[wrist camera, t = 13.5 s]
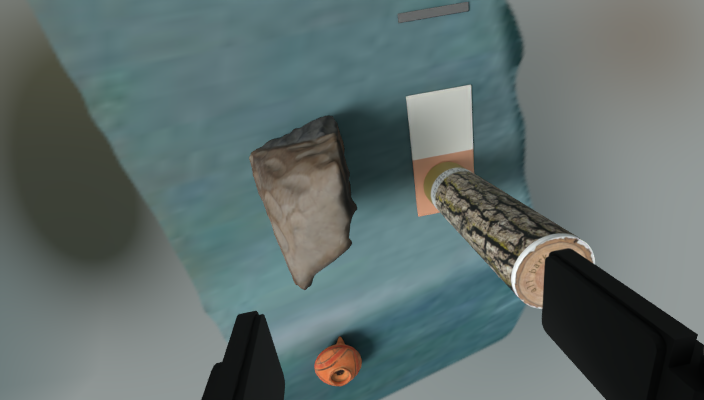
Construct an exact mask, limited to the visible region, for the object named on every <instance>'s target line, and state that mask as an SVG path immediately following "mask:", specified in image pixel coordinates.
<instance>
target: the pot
mask: <svg viewBox="0 0 704 400" xmlns="http://www.w3.org/2000/svg"><path fill="white" fill-rule="evenodd" d="M361 364H362V359H361V356H360V354H359V353H358V352H357V350H356V349H354V348H353V347H351V346H348V345H345V343H344V341H343V339H342V338H341V337H339V338H338V341H337V344H336V345H332V346H330V347H328V348H326V349H325V350H323V351H322V352H321V353H320V354H319V356H318V357H317V359H316V362H315V372H316V374H317V375H318V377H319V378H320V379H321V380H322V381H323V382H325V383H327V384H329V385H334V386H343V385H345V384H347V383H348V382H349V381H351V380H352V379H353V378H354V377H355V376H356V375H357V374H358V372H359V370H360V368H361Z"/></svg>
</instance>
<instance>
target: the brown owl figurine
mask: <svg viewBox="0 0 704 400" xmlns="http://www.w3.org/2000/svg"><path fill="white" fill-rule="evenodd" d="M344 149H345V148H344V145H343V140H342V137H341V135H340V131H339V128H338V124H337V122H336V121H335V119H334V118H333V116H324V117H320V118H318V119H316V120H313V121H311V122H309V123H308V124H306V125H304V126H303V127H301V128H295V129H294V130H293V131H292V132H291V133H289V134H286V135H284V136H283V137H281V138H278V139H272V140H270V141H268V142H267V143H266V144H265V145H263V146H262V147H260V148H258V149H256V150H255V151H253V152H252V153H251V155H250V157H249V160H250V162H251V166H252V171H253V177H254V179H255V182H256V186H257V189H258V193H259V195H260V197H261V199H262V201H263V203H264V206H265V209H266V212H267V215H268V217H269V219H270V221H271V224H272V227H273V231H274V235H275V237H276V239H277V242H278V244H279V246H280V248H281V251H282V253H283V255H284V258H285V261H286V263H287V265H288V268H289V271H290V273H291V275H292V277H293V280H294V282H295V284H296V285H298V286H299V287H300V288H302V289H304V290H306V289H307V288H308V287H309V286H311V284H312V281H313V278H314V275H315V274H317V273H318V272H319V271H321V270H322V269H323V268H325V267H326V266H328V265H329V264H330V263H332V262H333V261H335V260H336V259H337V258H338V257H339V256H341V255H342V254H343V253H344V252H345V251H347V250H348V249H349V247H350V246H351V245H352V241H351V240H350V239H349V232H350V223H351V219H352V216H353V214H354V212H355V211H356V210H357V206H356V204H355V203H354V201H353V200H352V198H351V189H350V181H349V176H350V172H349V170H348V167H347V164H346V160H345V156H344Z"/></svg>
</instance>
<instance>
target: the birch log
mask: <svg viewBox="0 0 704 400" xmlns="http://www.w3.org/2000/svg"><path fill="white" fill-rule="evenodd" d="M423 187H424V193H425V195H426V197H427V198H428V199H429V201H430V202H431V203H432V204H433V205H434V206H435V207H436V208H437V210H438V211H439V212H440V213H441V214H442V215H443V216H444V217H445V218H446V219H447V220H448V221H449V223H450V224H451V225H452V226H453V227H454V228H455V229H456V230H457V231H458V232H459V233H460V235H461V236H462V237H463V238H464V239H465V240H466V241H467V242H468V243H469V244H470V245H471V246H472V248H473V249H474V250H475V251H476V252H477V253H478V254H479V255H480V256H481V257H482V258H483V259H484V261H485V262H486V263H487V264H488V265H489V266H490V267H491V268H492V269H493V270H494V271H495V273H496V274H497V275H498V276H499V277H500V278H501V279H502V280H503V281H504V282H505V283H506V284H507V286H508V287H509V288H510V289H511V290H512V291H513V292H514V293H515V294H516V295H517V296H518V297H519V298H520V299H521V300H522V301H523V302H524V303H525V304H527V305H529V306H531V307H534V308H540V309H542V306H543V286H544V266H545V259H546V257H549V253H550V252H552V251H556V250H561V249H566V248H571V249H573V250H574V251H576V252H577V253H579V254H580V255H582V256H583V257H585V258H586V259H588V260H589V261H590V262H592V263H593V264H595V259H594V254H593V252H592V250H591V248H590V247H589V245H588V244H587V243H585V242H584V241H582V240H581V239H580V238H578V237H576V236H575V235H574V234H572V233H570V232H569V231H567V230H565V229H563V228H562V227H560V226H559V225H557V224H556V223H554V222H552V221H551V220H549V219H547V218H546V217H544V216H542V215H541V214H539V213H538V212H536V211H534V210H533V209H531V208H529V207H528V206H526V205H525V204H523V203H521V202H520V201H518V200H516V199H515V198H513V197H512V196H510V195H508V194H507V193H505V192H503V191H502V190H500V189H498V188H497V187H495V186H494V185H492V184H490V183H489V182H487V181H485V180H484V179H482V178H481V177H479V176H477V175H476V174H474V173H472V172H471V171H469V170H467V169H465V168H464V167H462V166H461V165H459V164H457V163H454V162H443V163H440V164H437V165H436V166H434V167H433V168H432V169H431V170H430V171H429V172H428V173H427V175H426V177H425V179H424V185H423Z"/></svg>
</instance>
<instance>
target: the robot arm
mask: <svg viewBox="0 0 704 400" xmlns="http://www.w3.org/2000/svg"><path fill="white" fill-rule="evenodd" d="M542 325H543V328H544V330H545V331H546V333H547V334H548V335H549V336H550V337H551V339H552V340H553V341H554V342H555V343H556V344H557V345H558V346H559V347H560V349H561V350H562V351H563V352H564V353H565V354H566V355H567V356H568V358H569V359H570V360H571V361H572V362H573V363H574V364H575V365H576V367H577V368H578V369H579V370H580V371H581V372H582V373H583V374H584V375H585V377H586V378H587V379H588V380H589V381H590V382H591V383H592V384H593V386H594V387H596V389H597V390H598V391H599V392H600V393H601V394H602V396H603V397H604V398H605V399H606V400H704V345H703V344H702V343H700V342H699V341H697V340H696V339H697V336H698V334H696V333H695V332H693V331H692V330H690V329H689V328H687V327H686V326H685V325H683V324H682V323H680V322H679V321H677V320H676V319H674V318H673V317H671V316H670V315H668V314H667V313H665V312H664V311H662V310H661V309H659V308H658V307H656V306H655V305H654V304H652V303H651V302H649V301H648V300H646V299H645V298H643V297H642V296H640V295H639V294H637V293H636V292H635V291H633V290H632V289H630V288H629V287H627V286H626V285H624V284H623V283H621V282H620V281H618V280H617V279H615V278H614V277H612V276H611V275H610V274H608V273H606V272H605V271H604V270H602V269H601V268H599V267H598V266H596V265H595V264H593V263H592V262H590V261H589V260H588V259H586V258H585V257H583V256H582V255H580V254H579V253H577V252H576V251H574V250H573V249H571V248H566V249H561V250H556V251H552V252H550V253H549V257H546V259H545V266H544V286H543V306H542ZM284 391H285V380H284V375H283V372H282V368H281V365H280V362H279V359H278V356H277V353H276V350H275V346H274V343H273V340H272V337H271V334H270V331H269V328H268V325H267V321H266V318H265V316H264V314H261V315H259V314H258V312H257V311H252V312H247V313H243V314H239V315H238V316H237V318H236V321H235V324H234V327H233V331H232V334H231V337H230V340H229V343H228V346H227V349H226V352H225V355H224V358H223V362H220V363H216V364H215V365H214V367H213V369H212V371H211V374H210V377H209V379H208V382H207V385H206V388H205V391H204V394H203V397H202V400H284Z"/></svg>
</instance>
